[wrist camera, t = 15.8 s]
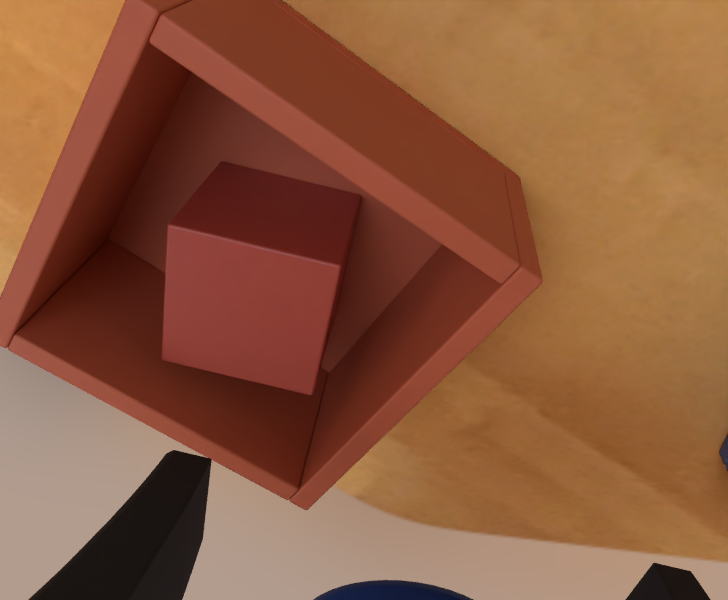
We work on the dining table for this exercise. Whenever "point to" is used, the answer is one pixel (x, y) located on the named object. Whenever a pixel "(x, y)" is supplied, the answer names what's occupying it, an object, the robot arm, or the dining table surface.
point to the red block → (256, 276)
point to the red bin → (285, 158)
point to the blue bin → (725, 453)
